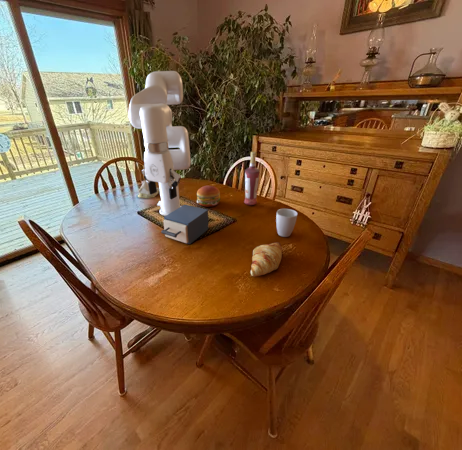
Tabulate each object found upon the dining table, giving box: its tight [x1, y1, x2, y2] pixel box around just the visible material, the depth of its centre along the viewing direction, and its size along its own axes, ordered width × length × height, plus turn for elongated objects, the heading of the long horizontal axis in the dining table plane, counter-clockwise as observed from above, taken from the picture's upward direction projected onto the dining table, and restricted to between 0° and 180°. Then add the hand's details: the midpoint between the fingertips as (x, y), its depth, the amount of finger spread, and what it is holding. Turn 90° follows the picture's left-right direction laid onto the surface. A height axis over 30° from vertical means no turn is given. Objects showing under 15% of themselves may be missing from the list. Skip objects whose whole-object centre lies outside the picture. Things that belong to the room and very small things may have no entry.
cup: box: [275, 208, 298, 238], centre depth 99 cm, size 8×8×10 cm
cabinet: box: [163, 204, 210, 245], centre depth 103 cm, size 15×13×10 cm
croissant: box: [250, 241, 283, 277], centre depth 83 cm, size 21×10×8 cm, turn 143°
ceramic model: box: [137, 179, 160, 199], centre depth 147 cm, size 14×11×10 cm
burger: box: [196, 185, 221, 208], centre depth 131 cm, size 13×14×10 cm
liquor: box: [243, 151, 260, 207], centre depth 123 cm, size 7×7×28 cm
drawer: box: [160, 219, 188, 244], centre depth 100 cm, size 18×11×8 cm, turn 147°
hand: (163, 195), depth 86 cm, fingers open, 9 cm apart
